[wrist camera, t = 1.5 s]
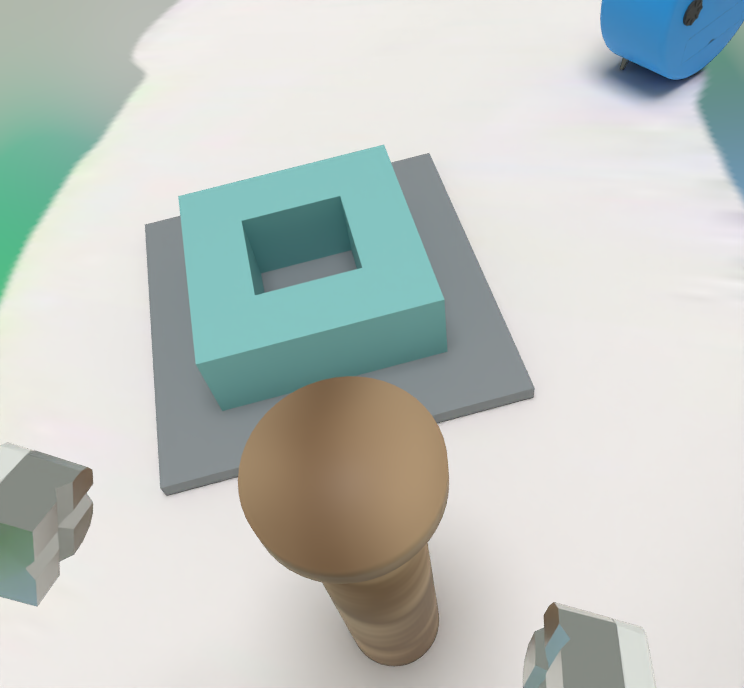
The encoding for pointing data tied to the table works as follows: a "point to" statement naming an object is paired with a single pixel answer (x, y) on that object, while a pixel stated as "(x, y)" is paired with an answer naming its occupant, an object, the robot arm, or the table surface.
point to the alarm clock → (670, 32)
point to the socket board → (426, 380)
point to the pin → (354, 505)
